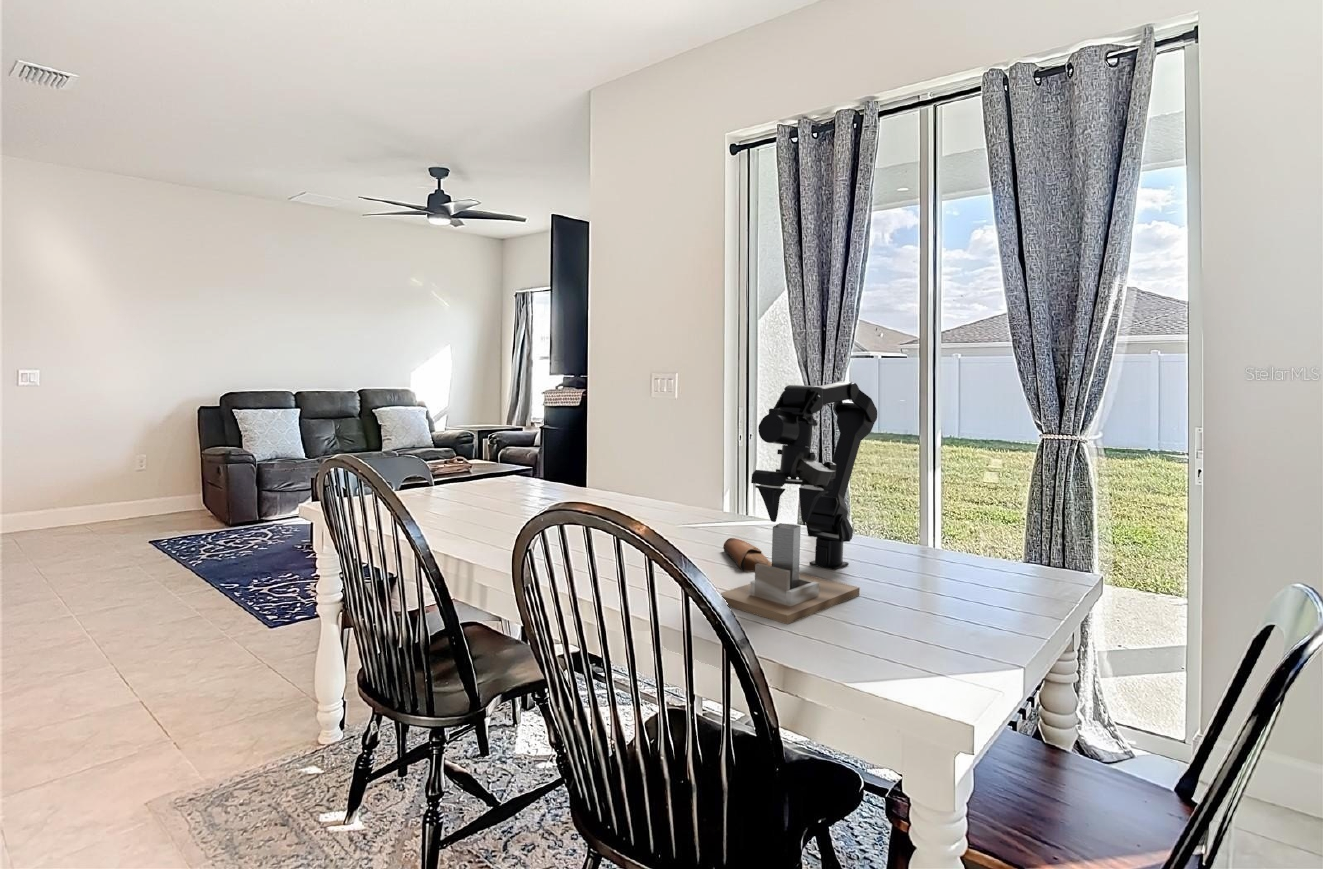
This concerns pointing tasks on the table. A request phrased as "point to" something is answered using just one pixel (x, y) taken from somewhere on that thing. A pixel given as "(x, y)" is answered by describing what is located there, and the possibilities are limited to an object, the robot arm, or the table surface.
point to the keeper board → (787, 595)
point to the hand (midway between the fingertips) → (789, 521)
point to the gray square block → (787, 550)
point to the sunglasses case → (745, 554)
